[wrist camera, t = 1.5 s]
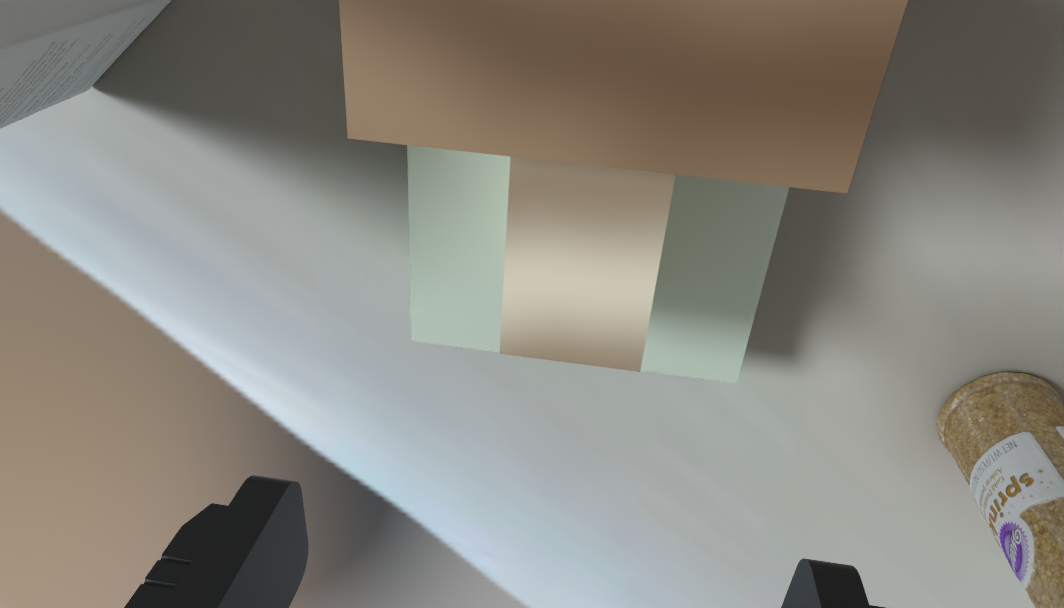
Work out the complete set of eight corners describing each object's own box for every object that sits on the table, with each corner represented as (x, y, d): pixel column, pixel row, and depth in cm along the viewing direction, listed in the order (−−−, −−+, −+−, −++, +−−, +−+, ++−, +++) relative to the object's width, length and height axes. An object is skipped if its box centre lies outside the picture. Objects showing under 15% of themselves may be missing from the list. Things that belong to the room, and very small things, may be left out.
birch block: (550, -114, 19) (525, -111, 15) (704, -102, 19) (724, -94, 14) (523, 271, 25) (499, 353, 21) (639, 285, 25) (639, 371, 20)
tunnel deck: (427, -507, 18) (239, -847, 9) (933, -485, 17) (1226, -839, 8) (430, 300, 30) (349, 468, 21) (727, 337, 29) (764, 528, 20)
